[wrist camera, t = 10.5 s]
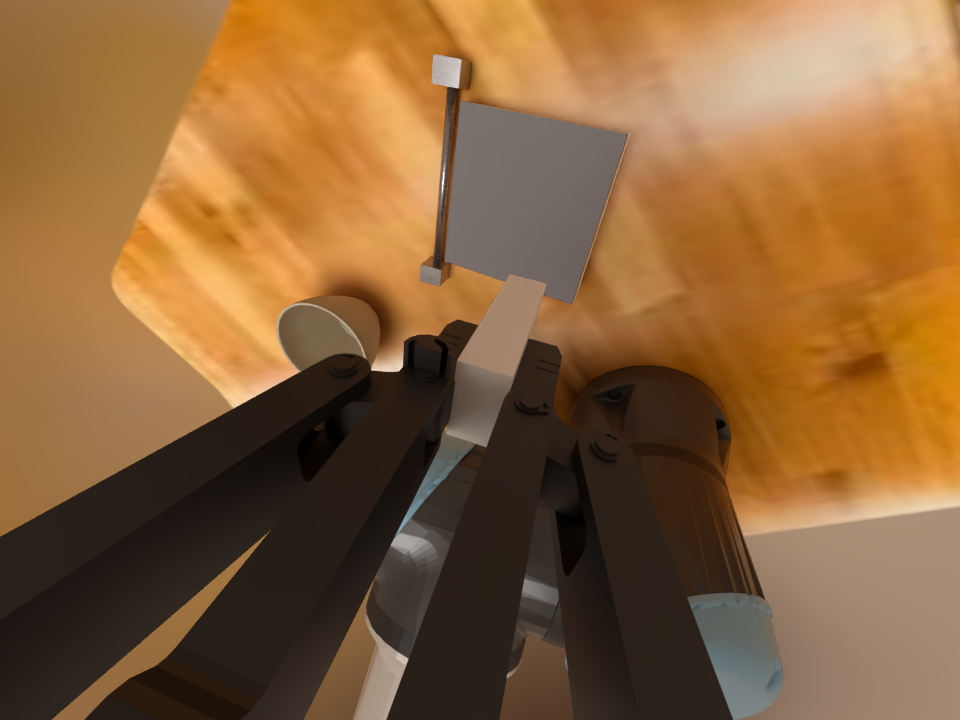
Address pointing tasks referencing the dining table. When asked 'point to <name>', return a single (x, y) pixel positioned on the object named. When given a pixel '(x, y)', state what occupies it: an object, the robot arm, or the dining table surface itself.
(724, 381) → the dining table surface
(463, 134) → the tile
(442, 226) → the hinge bracket
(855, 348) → the dining table surface
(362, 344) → the flower pot
